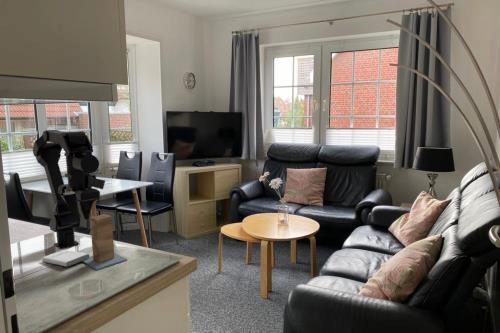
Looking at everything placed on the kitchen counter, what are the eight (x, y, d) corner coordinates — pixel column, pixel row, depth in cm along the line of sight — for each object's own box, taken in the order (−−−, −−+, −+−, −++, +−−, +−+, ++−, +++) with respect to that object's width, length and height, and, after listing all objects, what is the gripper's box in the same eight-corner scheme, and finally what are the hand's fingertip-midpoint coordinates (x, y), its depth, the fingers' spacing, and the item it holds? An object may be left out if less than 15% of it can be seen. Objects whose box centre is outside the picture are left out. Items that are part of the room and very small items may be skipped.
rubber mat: (80, 261, 117) (80, 259, 117) (110, 252, 124) (110, 250, 124) (96, 270, 110) (96, 268, 109) (127, 260, 117) (127, 258, 117)
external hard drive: (66, 267, 111) (42, 261, 117) (89, 258, 118) (65, 253, 124) (65, 262, 110) (41, 257, 117) (89, 253, 117) (65, 248, 124)
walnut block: (93, 260, 116) (90, 217, 114) (107, 255, 120) (104, 214, 118) (100, 263, 114) (97, 219, 112) (114, 258, 118) (111, 216, 116)
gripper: (114, 169, 118) (117, 216, 120) (88, 165, 130) (91, 207, 133) (79, 174, 110) (83, 224, 112) (55, 168, 122) (59, 214, 124)
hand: (80, 216), depth 121 cm, fingers open, 9 cm apart
